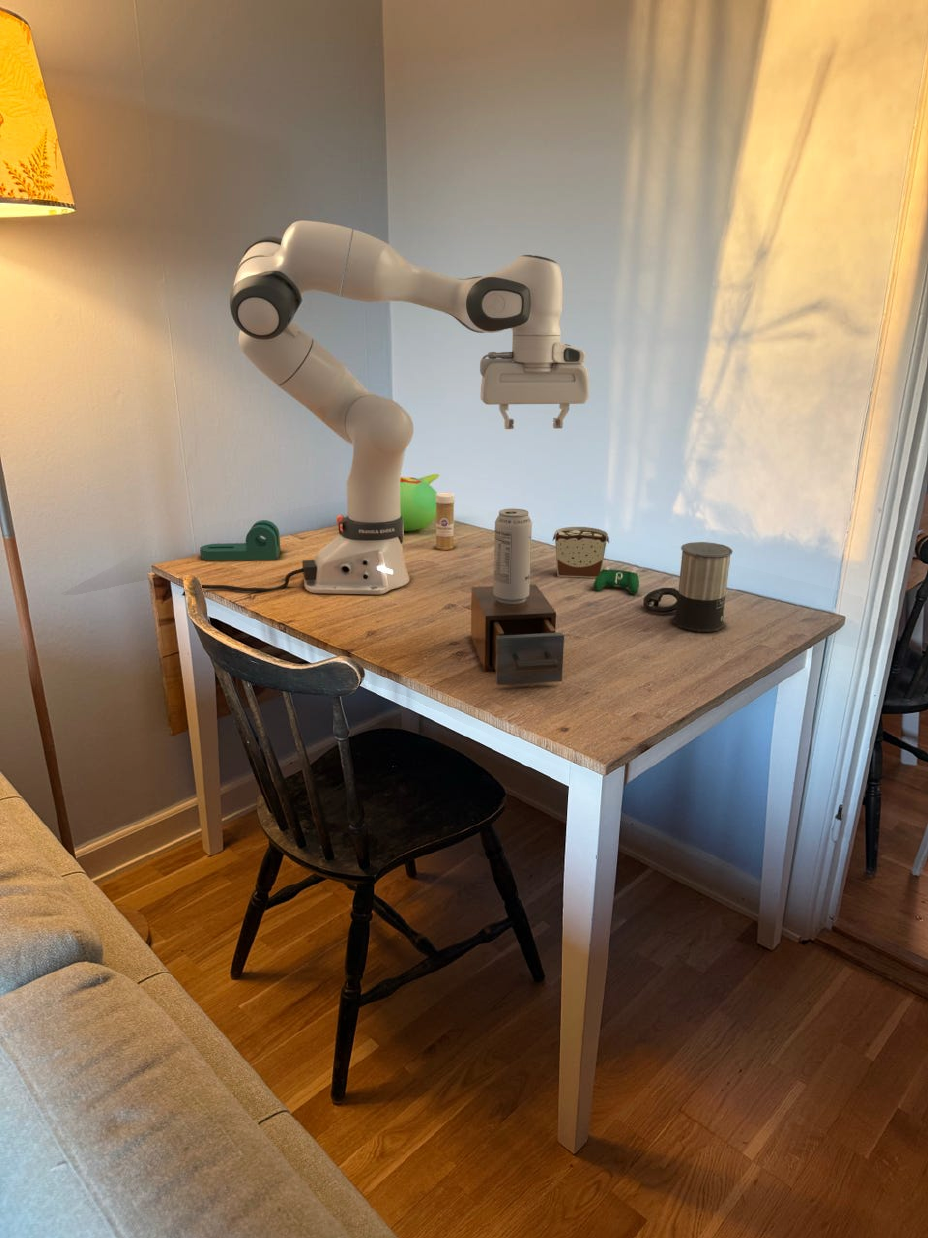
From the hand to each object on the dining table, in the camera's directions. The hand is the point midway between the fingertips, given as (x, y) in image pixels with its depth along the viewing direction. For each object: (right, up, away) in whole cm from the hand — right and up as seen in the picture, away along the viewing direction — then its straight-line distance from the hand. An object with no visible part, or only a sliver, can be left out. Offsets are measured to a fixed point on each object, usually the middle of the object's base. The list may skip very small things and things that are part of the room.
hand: (533, 428), depth 156 cm
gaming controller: (+19, -30, +18) cm, 40 cm away
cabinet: (-5, -42, -14) cm, 44 cm away
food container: (+12, -26, +28) cm, 40 cm away
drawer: (-4, -45, -24) cm, 51 cm away
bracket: (-66, -22, +39) cm, 80 cm away
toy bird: (-28, -12, +63) cm, 70 cm away
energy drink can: (-5, -33, -17) cm, 38 cm away
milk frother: (+29, -36, +2) cm, 46 cm away
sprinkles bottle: (-18, -19, +47) cm, 53 cm away
